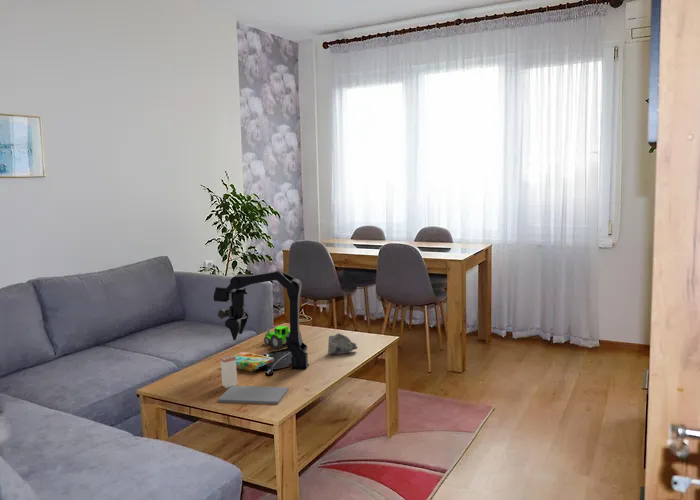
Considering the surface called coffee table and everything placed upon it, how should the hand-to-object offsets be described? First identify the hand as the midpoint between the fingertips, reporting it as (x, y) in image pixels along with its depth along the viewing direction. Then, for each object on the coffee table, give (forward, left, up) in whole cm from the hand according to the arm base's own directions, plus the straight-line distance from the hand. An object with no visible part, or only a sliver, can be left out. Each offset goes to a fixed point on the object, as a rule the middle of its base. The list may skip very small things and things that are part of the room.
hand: (237, 336), depth 248 cm
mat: (-18, +31, -14) cm, 38 cm away
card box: (-4, +21, -14) cm, 25 cm away
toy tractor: (-8, -34, -15) cm, 38 cm away
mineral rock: (-43, -22, -15) cm, 50 cm away
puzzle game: (-4, -2, -15) cm, 15 cm away
